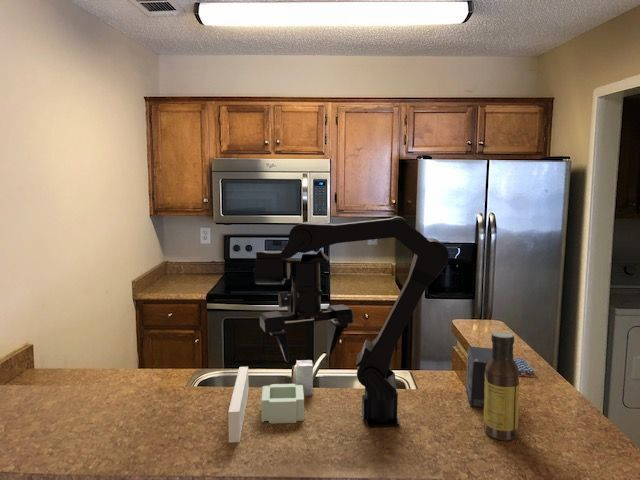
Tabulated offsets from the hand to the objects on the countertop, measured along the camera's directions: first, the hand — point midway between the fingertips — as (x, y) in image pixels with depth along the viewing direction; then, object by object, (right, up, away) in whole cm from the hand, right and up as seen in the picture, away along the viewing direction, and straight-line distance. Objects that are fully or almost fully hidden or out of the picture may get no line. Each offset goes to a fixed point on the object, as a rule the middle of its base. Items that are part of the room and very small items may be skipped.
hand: (308, 358), depth 97 cm
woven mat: (+53, -10, +27) cm, 60 cm away
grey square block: (-1, -11, +12) cm, 16 cm away
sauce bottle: (+37, -13, -6) cm, 40 cm away
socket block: (-5, -12, +2) cm, 13 cm away
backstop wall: (-14, -12, +1) cm, 19 cm away
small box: (+39, -12, +9) cm, 42 cm away
